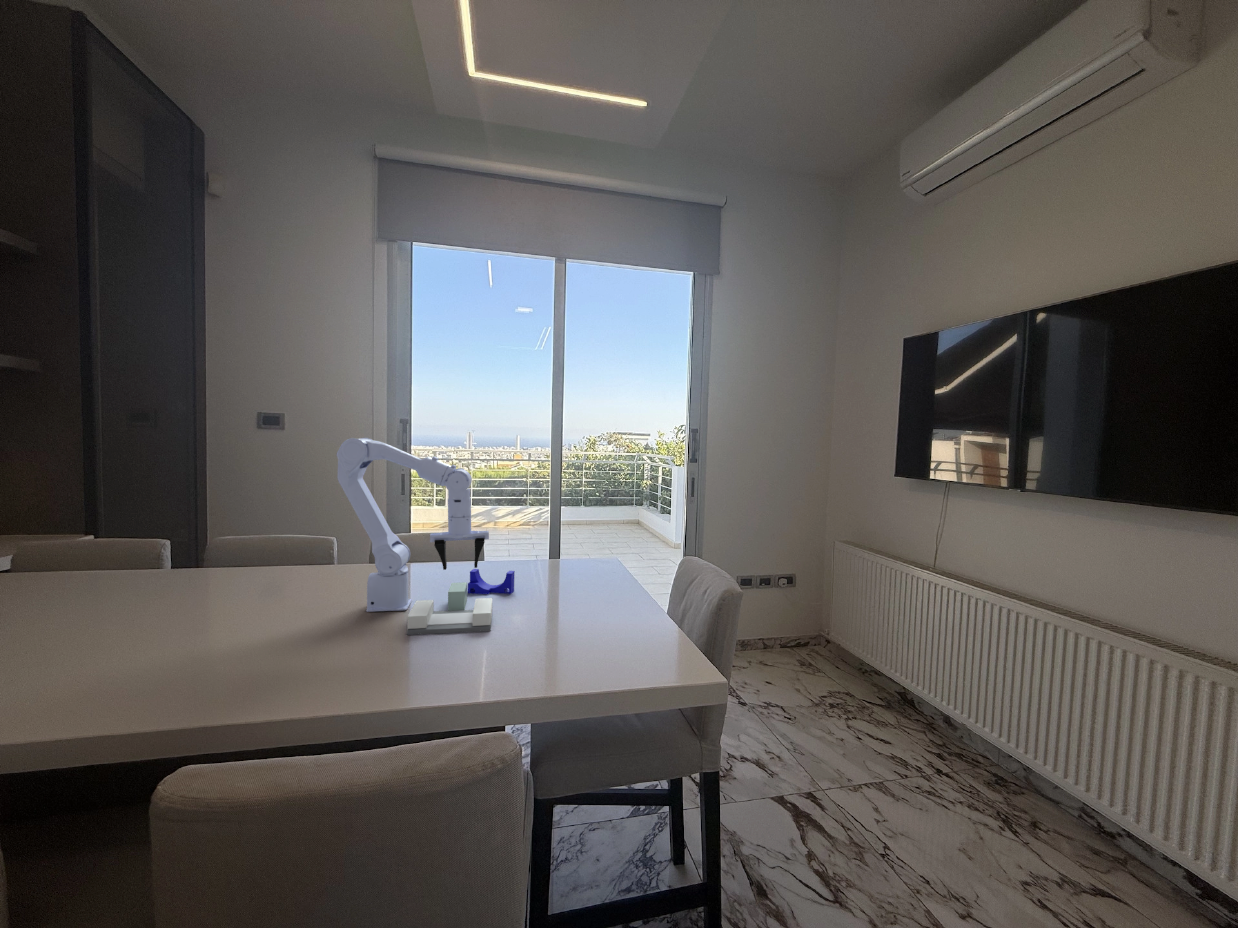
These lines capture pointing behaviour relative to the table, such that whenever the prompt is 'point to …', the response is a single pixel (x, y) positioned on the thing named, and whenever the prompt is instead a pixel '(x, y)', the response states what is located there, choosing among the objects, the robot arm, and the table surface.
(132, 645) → the table surface
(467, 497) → the robot arm
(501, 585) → the blue cradle bracket
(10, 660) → the table surface
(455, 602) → the block
